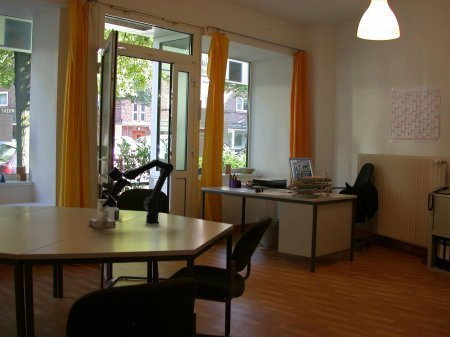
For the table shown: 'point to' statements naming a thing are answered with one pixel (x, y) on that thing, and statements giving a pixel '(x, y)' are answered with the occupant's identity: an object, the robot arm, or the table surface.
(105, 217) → the birch block
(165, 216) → the table surface
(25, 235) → the table surface
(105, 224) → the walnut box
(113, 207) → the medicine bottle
